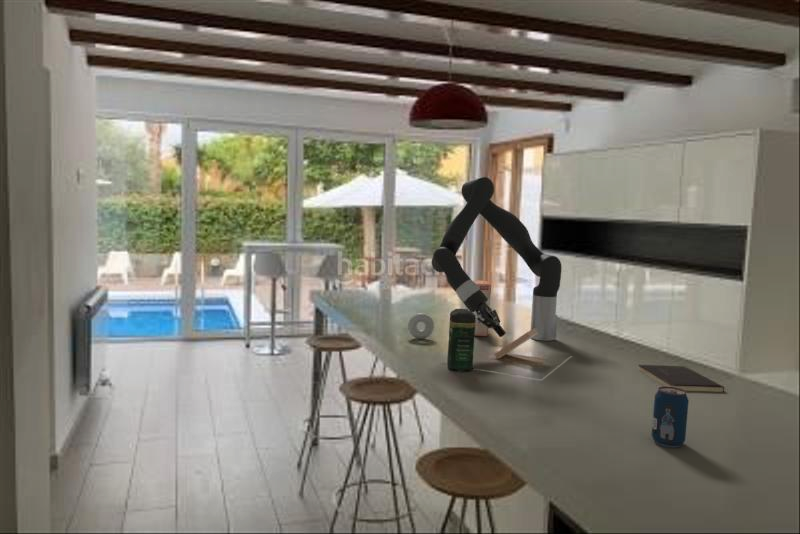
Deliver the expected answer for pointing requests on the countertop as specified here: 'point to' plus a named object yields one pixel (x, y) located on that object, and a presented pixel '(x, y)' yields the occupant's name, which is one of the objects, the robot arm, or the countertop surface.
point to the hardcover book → (680, 378)
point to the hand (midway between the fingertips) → (503, 335)
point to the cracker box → (486, 289)
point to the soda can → (670, 416)
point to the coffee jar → (461, 340)
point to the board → (519, 359)
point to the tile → (516, 343)
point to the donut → (415, 320)
